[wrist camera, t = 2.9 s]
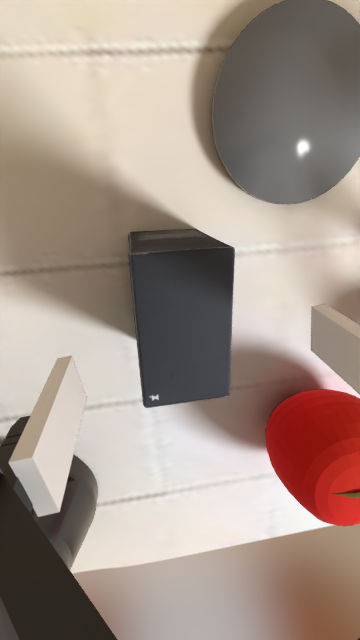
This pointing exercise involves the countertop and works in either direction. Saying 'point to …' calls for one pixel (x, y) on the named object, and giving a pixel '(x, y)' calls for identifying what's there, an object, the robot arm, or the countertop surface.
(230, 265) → the small box
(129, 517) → the countertop surface
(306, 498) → the tomato
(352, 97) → the dish
